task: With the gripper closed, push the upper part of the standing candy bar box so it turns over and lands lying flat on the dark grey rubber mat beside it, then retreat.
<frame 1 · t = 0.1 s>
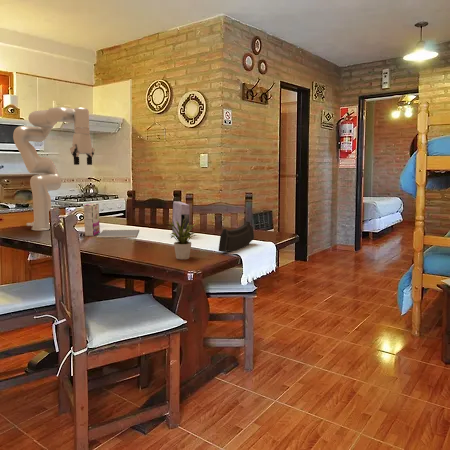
hand: (83, 164, 237), 37 cm above the table, tool pointing down, fingers open, 9 cm apart
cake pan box: (180, 236, 237), on the table
house plant: (179, 258, 179), on the table
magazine: (237, 249, 201), on the table
candy bar box: (92, 235, 239), on the table
mat: (119, 234, 240), on the table
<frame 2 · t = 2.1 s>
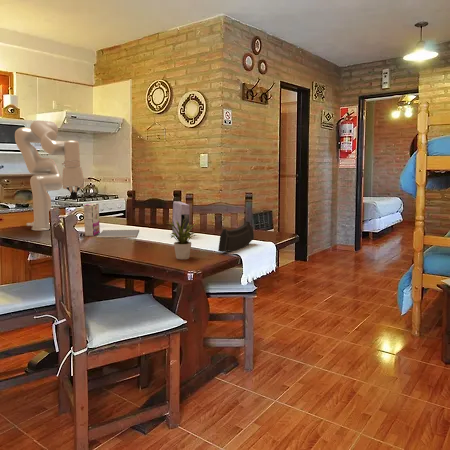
hand: (74, 199, 235), 19 cm above the table, tool pointing down, fingers closed
nothing on the table moved.
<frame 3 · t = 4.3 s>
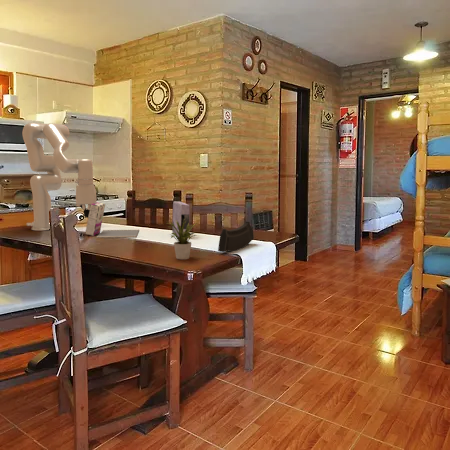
hand: (87, 217, 237), 9 cm above the table, tool pointing down, fingers closed
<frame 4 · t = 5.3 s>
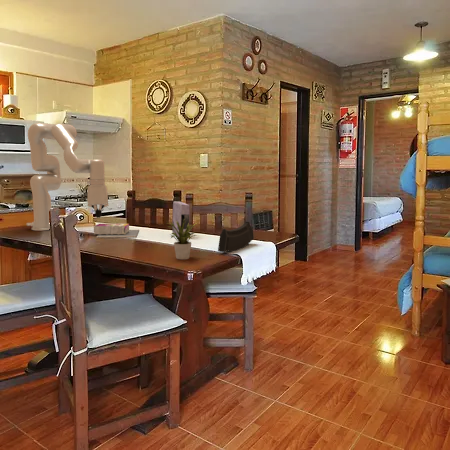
hand: (98, 217, 238), 9 cm above the table, tool pointing down, fingers closed
candy bar box: (96, 228, 238), point 3 cm above the table, touching mat
everything else where it was.
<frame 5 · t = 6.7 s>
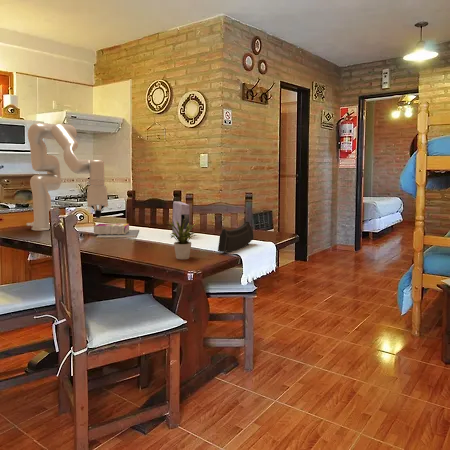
hand: (98, 217, 238), 9 cm above the table, tool pointing down, fingers closed
nothing on the table moved.
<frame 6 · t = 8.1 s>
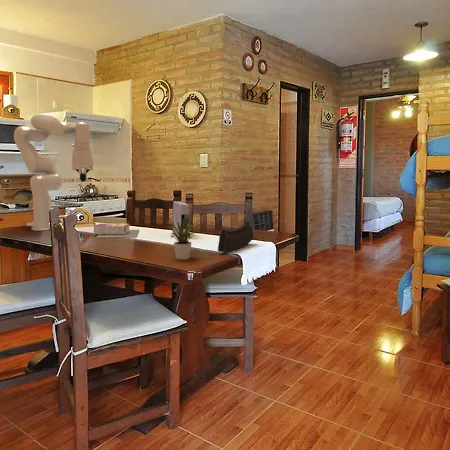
hand: (83, 181, 237), 28 cm above the table, tool pointing down, fingers closed
nothing on the table moved.
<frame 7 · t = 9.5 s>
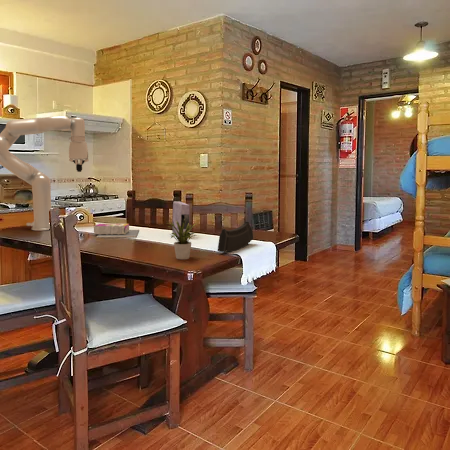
hand: (79, 171, 260), 33 cm above the table, tool pointing down, fingers closed
nothing on the table moved.
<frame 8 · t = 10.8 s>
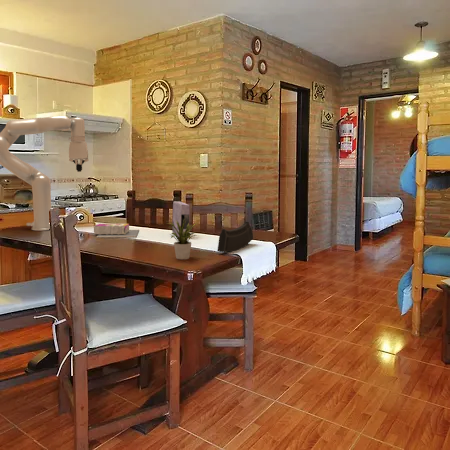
hand: (79, 171, 261), 33 cm above the table, tool pointing down, fingers closed
nothing on the table moved.
at the end: candy bar box tilted 91°; candy bar box inside the target area (9.9 cm from its centre), point 3.1 cm above the table; the gripper is holding nothing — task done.
